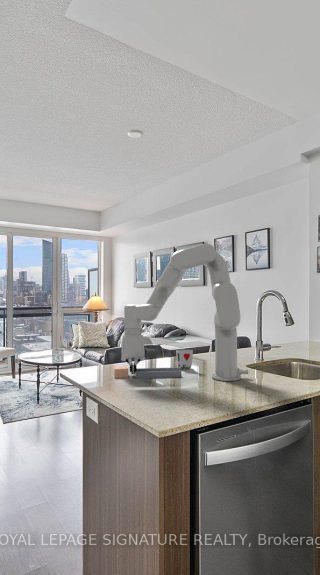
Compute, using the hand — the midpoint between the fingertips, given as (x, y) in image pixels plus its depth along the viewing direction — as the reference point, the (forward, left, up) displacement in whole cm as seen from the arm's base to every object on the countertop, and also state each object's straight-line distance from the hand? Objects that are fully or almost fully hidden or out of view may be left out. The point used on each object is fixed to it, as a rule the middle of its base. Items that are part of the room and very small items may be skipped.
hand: (133, 373), depth 167 cm
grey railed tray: (-11, 0, -2) cm, 11 cm away
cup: (-25, -14, -2) cm, 29 cm away
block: (+2, 0, 0) cm, 2 cm away
